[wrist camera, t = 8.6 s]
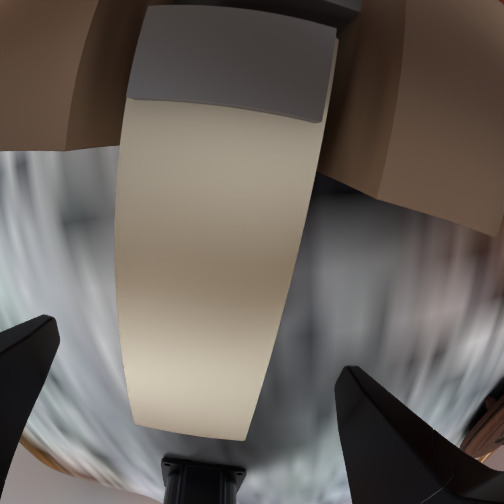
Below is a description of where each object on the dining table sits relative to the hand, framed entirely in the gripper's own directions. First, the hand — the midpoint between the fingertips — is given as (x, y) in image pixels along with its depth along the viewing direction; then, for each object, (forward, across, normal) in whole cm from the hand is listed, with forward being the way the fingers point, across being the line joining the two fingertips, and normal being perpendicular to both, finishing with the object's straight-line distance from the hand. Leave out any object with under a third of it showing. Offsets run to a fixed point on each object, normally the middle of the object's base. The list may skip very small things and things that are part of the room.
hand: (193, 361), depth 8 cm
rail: (+5, 0, -2) cm, 5 cm away
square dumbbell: (+4, 0, -9) cm, 10 cm away
